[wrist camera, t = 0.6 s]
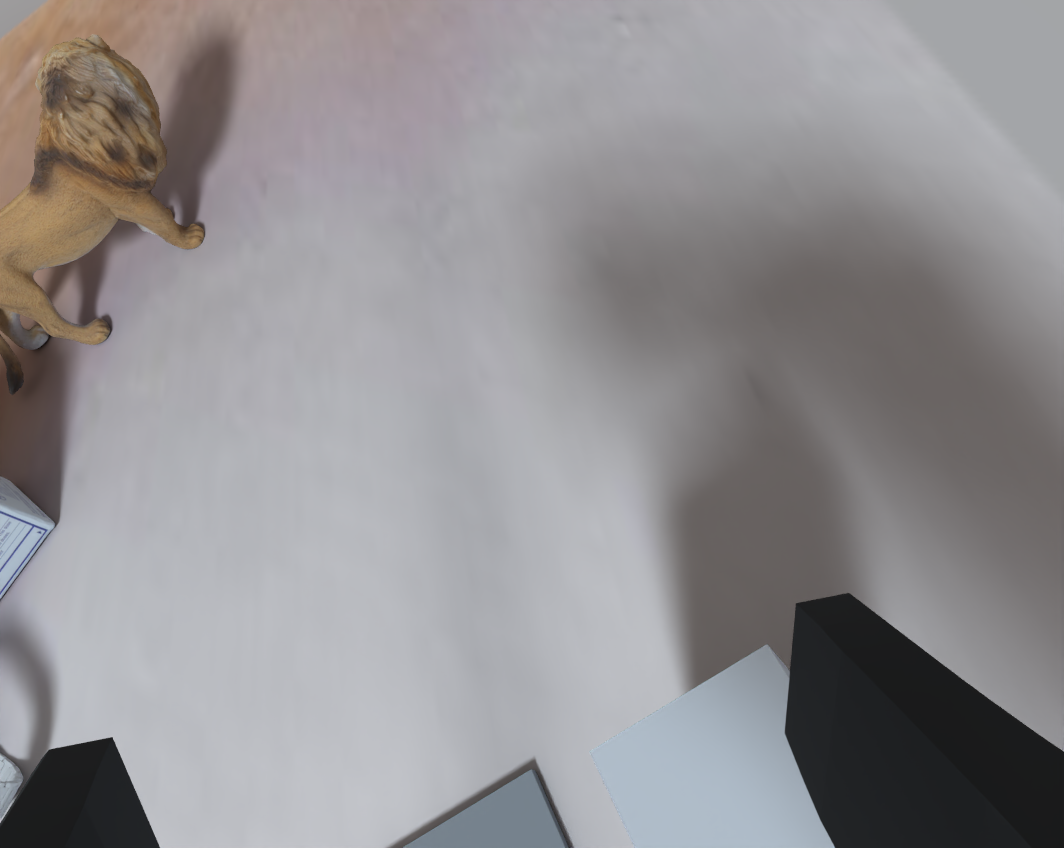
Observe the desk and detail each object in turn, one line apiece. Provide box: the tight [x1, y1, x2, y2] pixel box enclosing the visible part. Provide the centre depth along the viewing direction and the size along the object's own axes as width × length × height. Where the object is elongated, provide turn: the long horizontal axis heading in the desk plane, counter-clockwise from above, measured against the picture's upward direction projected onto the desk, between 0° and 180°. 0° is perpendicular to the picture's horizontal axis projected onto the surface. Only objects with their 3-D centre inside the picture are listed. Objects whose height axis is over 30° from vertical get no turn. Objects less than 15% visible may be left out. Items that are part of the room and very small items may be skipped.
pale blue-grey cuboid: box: [590, 644, 835, 848], centre depth 21 cm, size 4×4×9 cm
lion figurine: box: [0, 35, 204, 395], centre depth 42 cm, size 15×5×9 cm, turn 138°
